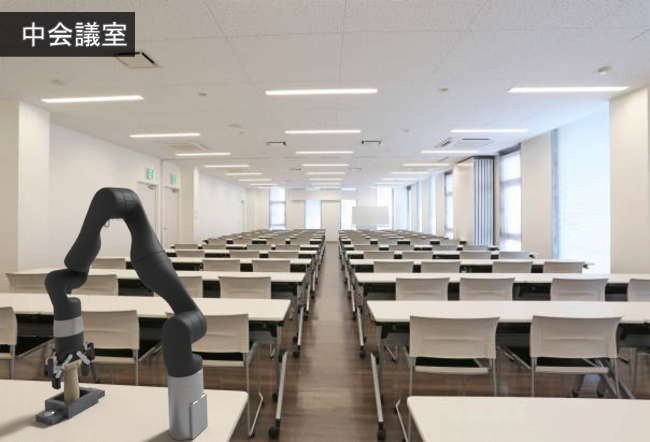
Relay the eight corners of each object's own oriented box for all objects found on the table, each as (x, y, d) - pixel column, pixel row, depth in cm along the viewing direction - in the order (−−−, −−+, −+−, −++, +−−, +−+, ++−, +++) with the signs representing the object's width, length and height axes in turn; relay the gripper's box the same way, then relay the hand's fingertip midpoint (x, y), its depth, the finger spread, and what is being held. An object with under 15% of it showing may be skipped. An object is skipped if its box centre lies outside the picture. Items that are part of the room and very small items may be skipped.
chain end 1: (95, 404, 111) (94, 392, 111) (56, 426, 100) (55, 413, 99) (72, 399, 114) (71, 387, 114) (32, 420, 103) (31, 407, 103)
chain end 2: (108, 396, 115) (108, 384, 115) (72, 417, 104) (72, 404, 104) (86, 391, 119) (85, 380, 119) (49, 411, 108) (48, 398, 107)
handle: (87, 402, 112) (85, 357, 111) (70, 414, 106) (68, 366, 105) (73, 401, 113) (71, 356, 112) (56, 413, 106) (54, 366, 105)
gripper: (52, 341, 100) (55, 395, 101) (99, 325, 114) (101, 373, 114) (35, 338, 103) (38, 391, 103) (82, 323, 116) (85, 370, 117)
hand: (71, 382), depth 109 cm, fingers open, 8 cm apart
